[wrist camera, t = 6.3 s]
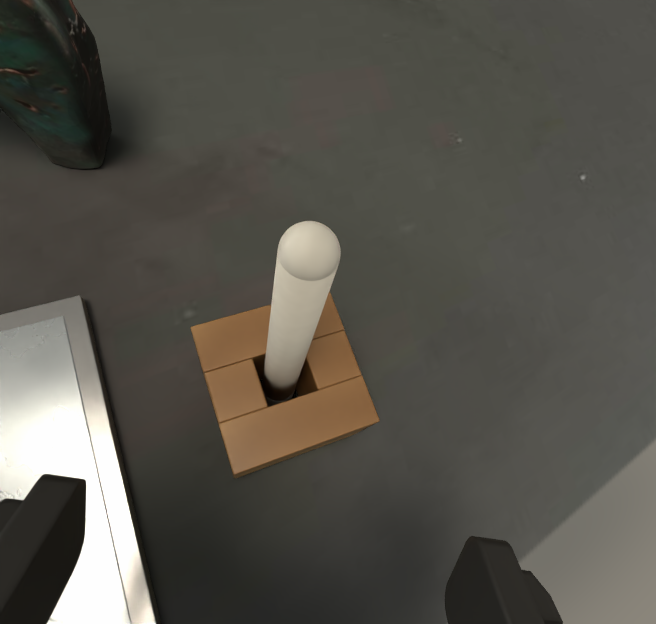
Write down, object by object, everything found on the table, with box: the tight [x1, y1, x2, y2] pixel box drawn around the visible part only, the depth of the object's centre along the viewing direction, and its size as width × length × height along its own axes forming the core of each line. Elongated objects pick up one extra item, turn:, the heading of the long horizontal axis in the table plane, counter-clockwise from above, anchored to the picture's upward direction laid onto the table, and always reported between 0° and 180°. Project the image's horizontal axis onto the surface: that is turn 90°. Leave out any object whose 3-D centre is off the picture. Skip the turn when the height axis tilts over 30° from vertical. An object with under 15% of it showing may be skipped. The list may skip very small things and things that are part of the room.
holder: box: [191, 291, 379, 479], centre depth 22 cm, size 6×6×5 cm
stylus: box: [262, 221, 341, 407], centre depth 18 cm, size 2×2×15 cm
